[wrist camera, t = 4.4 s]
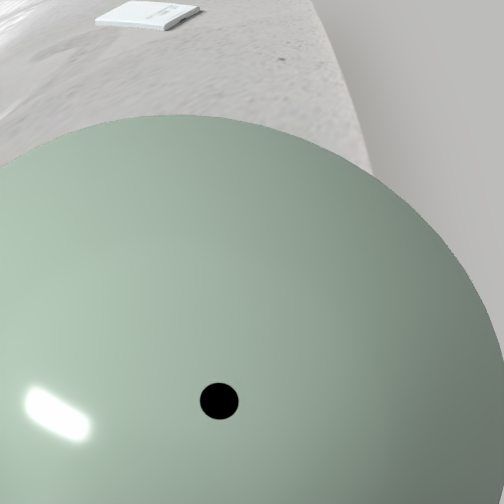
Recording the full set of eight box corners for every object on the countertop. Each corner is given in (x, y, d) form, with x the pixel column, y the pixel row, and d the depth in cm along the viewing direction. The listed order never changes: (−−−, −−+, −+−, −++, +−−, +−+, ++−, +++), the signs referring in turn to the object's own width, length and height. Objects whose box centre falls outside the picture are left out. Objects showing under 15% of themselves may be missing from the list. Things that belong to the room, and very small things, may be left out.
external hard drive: (133, 8, 36) (199, 14, 35) (95, 28, 32) (164, 34, 31) (132, -1, 34) (200, 4, 33) (94, 19, 31) (163, 23, 29)
